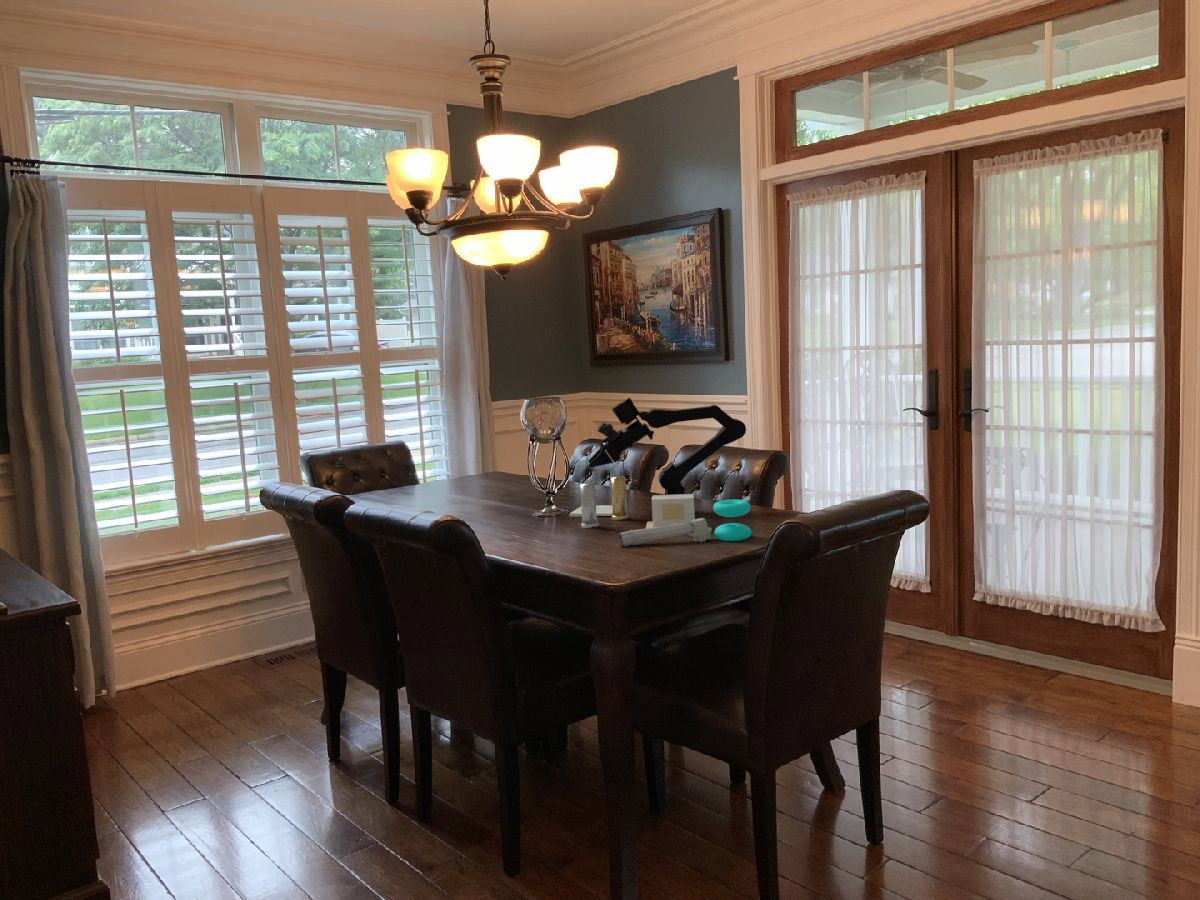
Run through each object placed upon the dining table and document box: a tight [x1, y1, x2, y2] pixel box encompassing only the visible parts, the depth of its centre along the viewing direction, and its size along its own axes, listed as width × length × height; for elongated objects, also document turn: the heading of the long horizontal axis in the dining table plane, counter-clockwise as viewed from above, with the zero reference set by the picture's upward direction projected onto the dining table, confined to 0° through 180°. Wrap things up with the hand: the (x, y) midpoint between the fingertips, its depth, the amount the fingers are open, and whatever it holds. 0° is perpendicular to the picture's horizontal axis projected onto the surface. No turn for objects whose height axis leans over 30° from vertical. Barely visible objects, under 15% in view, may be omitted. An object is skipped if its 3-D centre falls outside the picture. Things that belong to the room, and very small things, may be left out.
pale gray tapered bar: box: [617, 517, 713, 547], centre depth 259 cm, size 5×7×25 cm
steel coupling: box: [579, 482, 599, 529], centre depth 285 cm, size 5×5×13 cm
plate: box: [568, 504, 613, 518], centre depth 308 cm, size 14×14×1 cm
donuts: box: [712, 499, 752, 542], centre depth 260 cm, size 10×10×10 cm
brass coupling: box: [610, 475, 629, 521], centre depth 295 cm, size 5×5×13 cm
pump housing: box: [645, 493, 696, 529], centre depth 278 cm, size 12×16×9 cm
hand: (589, 464), depth 299 cm, fingers open, 9 cm apart
